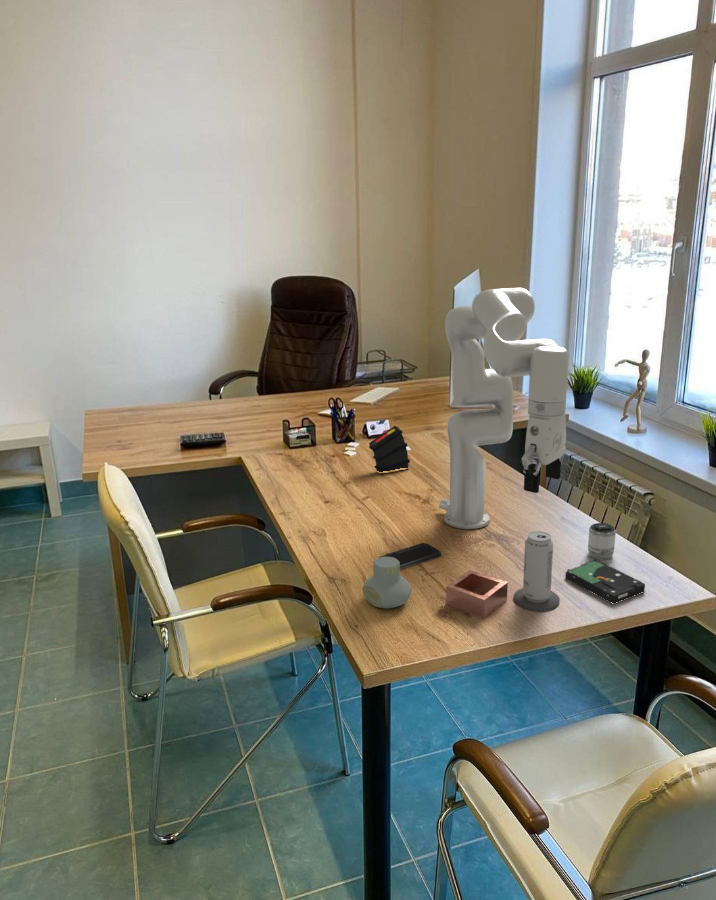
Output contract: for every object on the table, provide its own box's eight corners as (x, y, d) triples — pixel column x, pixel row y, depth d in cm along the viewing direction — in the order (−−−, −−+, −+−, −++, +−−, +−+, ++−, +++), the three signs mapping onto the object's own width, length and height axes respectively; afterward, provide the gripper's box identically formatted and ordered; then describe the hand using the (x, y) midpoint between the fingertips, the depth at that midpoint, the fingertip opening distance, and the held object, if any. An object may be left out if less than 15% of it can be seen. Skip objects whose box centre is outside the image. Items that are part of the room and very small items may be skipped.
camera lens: (618, 559, 189) (620, 529, 187) (594, 561, 188) (596, 532, 186) (606, 548, 195) (608, 519, 193) (583, 550, 194) (585, 522, 192)
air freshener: (358, 598, 174) (356, 558, 171) (386, 587, 179) (386, 548, 175) (387, 618, 166) (386, 576, 162) (416, 606, 170) (416, 565, 167)
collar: (445, 604, 170) (446, 586, 169) (469, 587, 177) (470, 569, 176) (484, 618, 164) (484, 599, 163) (507, 600, 171) (507, 582, 170)
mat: (505, 601, 171) (505, 599, 171) (527, 584, 178) (527, 582, 178) (546, 616, 164) (546, 614, 164) (567, 597, 172) (567, 595, 172)
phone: (443, 552, 193) (394, 568, 186) (443, 556, 194) (394, 572, 186) (424, 542, 200) (376, 556, 192) (424, 545, 200) (376, 560, 192)
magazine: (418, 463, 255) (400, 427, 248) (386, 485, 252) (367, 449, 245) (412, 460, 258) (395, 424, 251) (381, 482, 255) (362, 446, 248)
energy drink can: (524, 589, 175) (526, 529, 170) (551, 592, 173) (554, 531, 168) (521, 602, 169) (524, 540, 165) (549, 605, 168) (552, 543, 163)
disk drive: (645, 594, 174) (594, 568, 186) (646, 583, 173) (595, 558, 185) (613, 607, 169) (563, 579, 181) (614, 595, 168) (564, 569, 180)
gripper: (543, 419, 149) (539, 501, 154) (582, 400, 161) (576, 476, 167) (509, 413, 153) (506, 492, 159) (549, 395, 166) (544, 469, 171)
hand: (542, 484), depth 163 cm, fingers open, 9 cm apart
